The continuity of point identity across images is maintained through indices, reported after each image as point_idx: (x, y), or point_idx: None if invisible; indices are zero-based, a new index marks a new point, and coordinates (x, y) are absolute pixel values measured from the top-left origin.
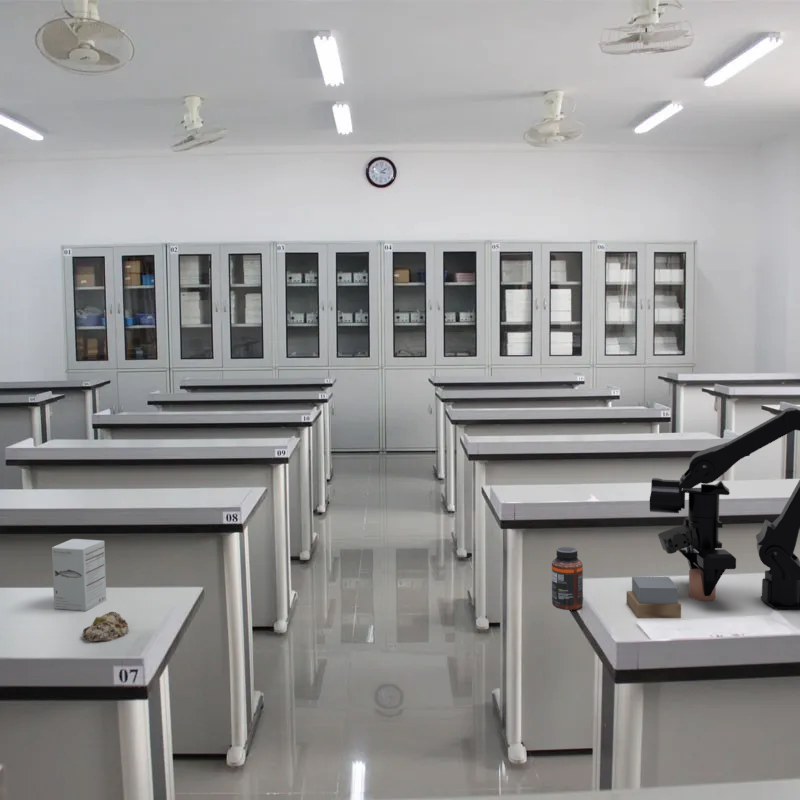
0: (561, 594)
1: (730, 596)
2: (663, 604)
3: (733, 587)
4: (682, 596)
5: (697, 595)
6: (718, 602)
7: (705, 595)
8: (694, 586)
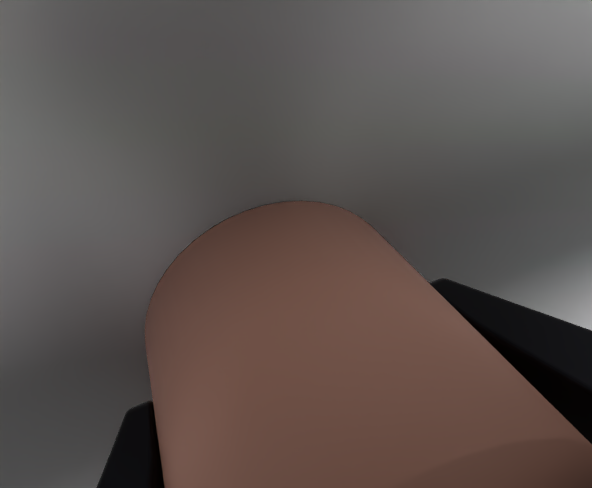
0: None
1: None
2: None
3: None
4: (233, 130)
5: (161, 326)
6: None
7: (132, 415)
8: (198, 373)
